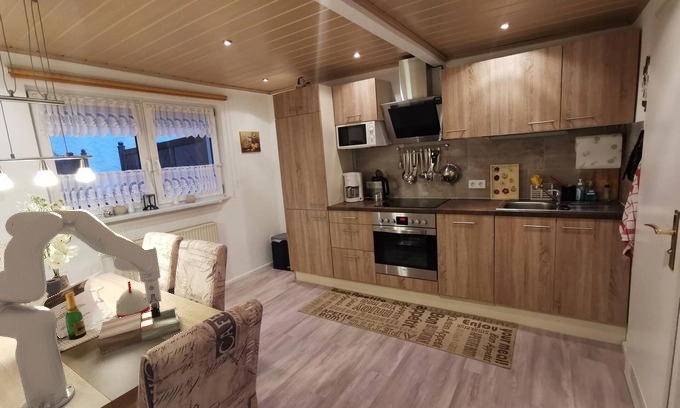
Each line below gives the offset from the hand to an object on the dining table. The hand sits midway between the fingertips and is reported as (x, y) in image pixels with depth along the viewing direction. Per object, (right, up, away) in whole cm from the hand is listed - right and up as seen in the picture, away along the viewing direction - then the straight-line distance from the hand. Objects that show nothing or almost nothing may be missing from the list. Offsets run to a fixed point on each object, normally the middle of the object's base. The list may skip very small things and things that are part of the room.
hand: (156, 312), depth 141 cm
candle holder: (-41, -10, 0) cm, 42 cm away
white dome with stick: (-22, -6, +19) cm, 30 cm away
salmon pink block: (-2, -5, -6) cm, 8 cm away
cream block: (-6, -4, +1) cm, 8 cm away
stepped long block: (-5, -8, -2) cm, 9 cm away
